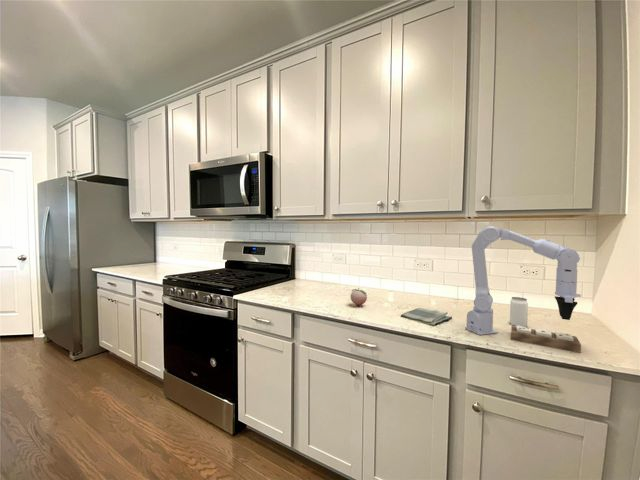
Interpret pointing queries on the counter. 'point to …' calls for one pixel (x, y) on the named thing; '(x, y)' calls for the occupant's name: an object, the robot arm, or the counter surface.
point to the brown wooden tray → (546, 340)
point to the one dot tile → (543, 333)
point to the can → (518, 311)
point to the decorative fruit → (358, 297)
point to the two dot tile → (563, 336)
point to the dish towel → (427, 316)
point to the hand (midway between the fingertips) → (564, 317)
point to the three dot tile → (523, 329)
